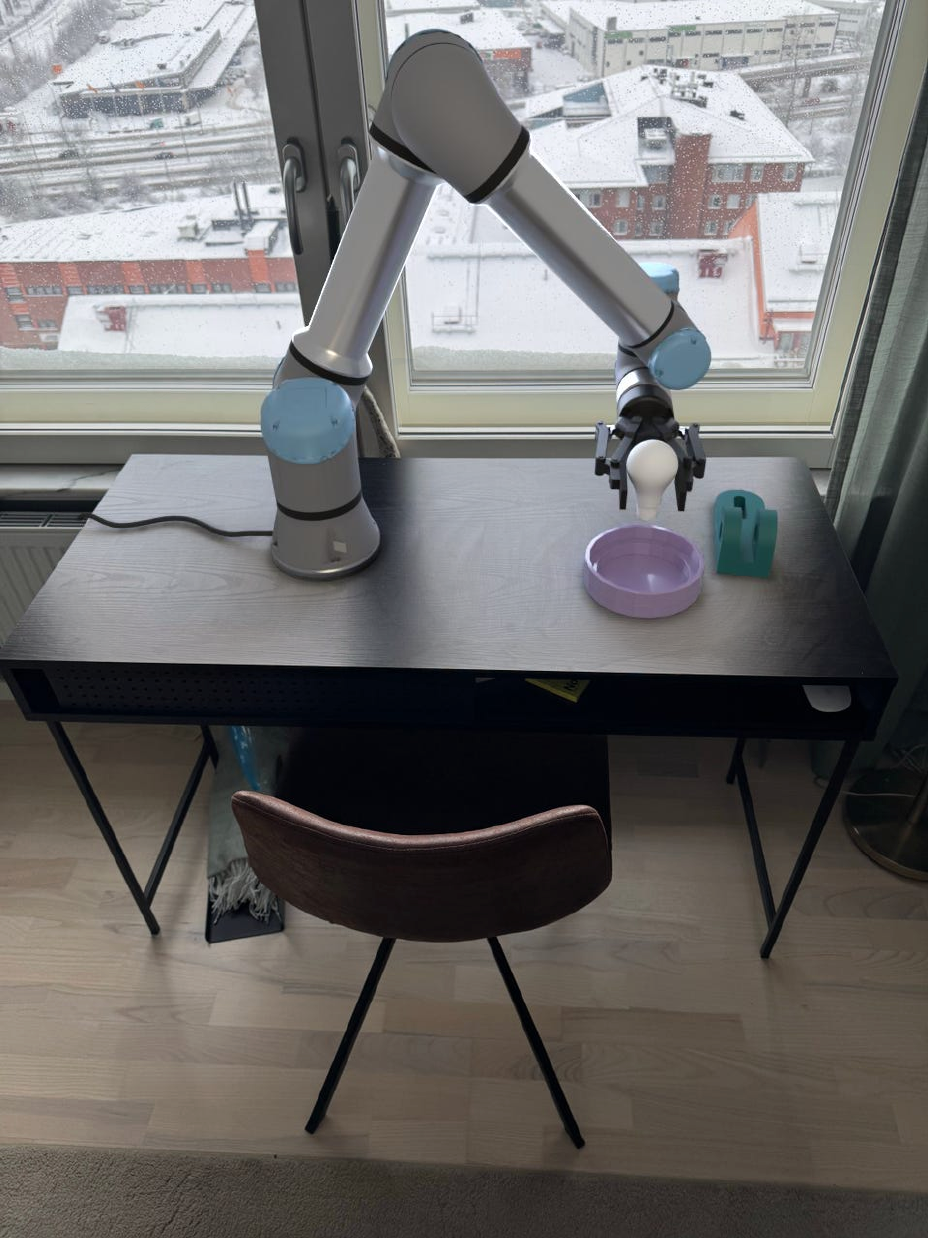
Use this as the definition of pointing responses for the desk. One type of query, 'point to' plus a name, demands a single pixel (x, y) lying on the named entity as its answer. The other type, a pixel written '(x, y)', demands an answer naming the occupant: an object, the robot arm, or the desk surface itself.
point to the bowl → (643, 571)
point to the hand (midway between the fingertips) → (652, 500)
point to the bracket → (744, 534)
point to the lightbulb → (651, 475)
